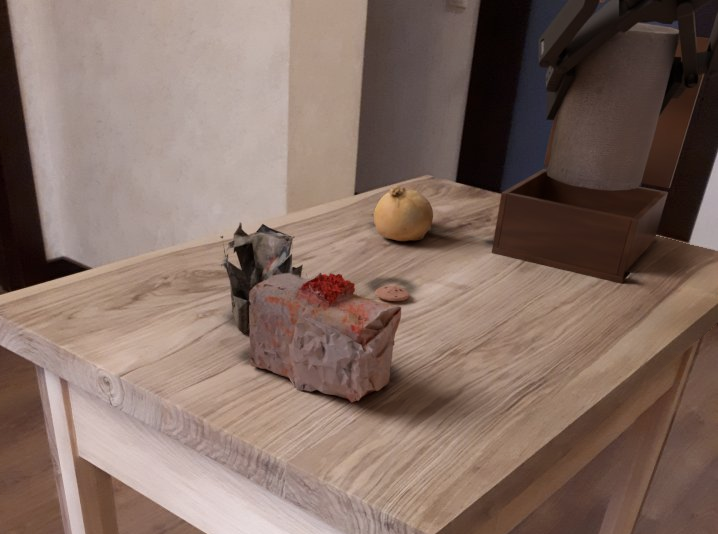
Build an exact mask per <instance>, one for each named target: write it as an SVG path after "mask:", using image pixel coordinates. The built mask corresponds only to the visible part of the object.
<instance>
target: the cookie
mask: <svg viewBox="0 0 718 534" xmlns="http://www.w3.org/2000/svg"><path fill="white" fill-rule="evenodd" d="M374 294H375V295H376V296H377V297H378V298H379V299H382V300H384V301H389V302H401V301H405V300H407V299H409V298H410V296H411V294H410V292H409V290H407V289H405V288H403V287H401V286H397V285H383V286H380V287H378V288H377V289H375V290H374Z"/></svg>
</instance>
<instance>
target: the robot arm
mask: <svg viewBox="0 0 718 534" xmlns="http://www.w3.org/2000/svg"><path fill="white" fill-rule="evenodd" d="M606 1H607V0H568V1H567V2H566V3H565V5H564V6H563V7H562V8H561V10H560V11H559V12H558V14H557V15H556V16H555V17H554V19H553V20H552V21H551V23H550V24H549V25H548V27H547V28H546V30H544V32H543V33H542V35H541V36H540V37H539V39H538V66H539V67H540V68H543V69H547V68H548V69H547V71H546V74H545V90H546V91H545V92H547V93H546V94H545V120H546V121H553V120H554V118H555V116H556V114H557V112H558V110H559V108H560V106H561V103H562V101H563V99H564V97H565V95H566V93H567V91H568V89H569V87H570V85H571V82H572V80H573V78H574V66H575V65H577V64H578V63H579V62H581V61H582V60H583V59H585V58H586V57H587V56H588V55H590V54H591V53H592V52H594V51H595V50H596V49H598V48H599V47H600V46H601V45H603V44H604V43H605V42H607V41H608V40H609V39H611V38H612V37H613V36H614V35H616V34H617V33H618V32H620V31H621V32H623V33H625V32H626V31H628V30H629V29H630V28H632V27H633V26H634V25H636V24H637V23H642V24H648V23H654V22H655V23H659V24H662V25H673V24H674V22H677V26H678V28H677V29H678V30H679V36H680V44H681V53H682V62H681V57H674V61H673V65H672V69H671V72H670V76H669V80H668V84H667V88H666V91H665V95H664V99H663V103H662V106H661V110H660V114H659V116H660V115H661V113H662V112H663V110H664V109H665V107H666V106H667V104H668V103H669V101H670V100H671V99H677V98H679V97H680V96H681V95H682V94H683V92H684V91H685V89H686V88H693V87H695V86H697V85H698V75H701V74H704V75H706V77H707V78H715V77H718V12H717V13H716V17H715V19H714V23H713V26H712V29H711V32H710V35H709V37H708V38H709V42H708V45H707V48H706V51H705V52H700V53H697V41H696V37H697V29H696V28H697V27H696V17H695V15H696V14H695V12H696V11H698V10H700V9H701V8H703V7H705V6H706V5H708V4H710V3H711V2H713V1H714V0H609V1H607V2H606ZM605 2H606V3H605ZM604 3H605V4H604ZM599 4H604V5H603V6H602V7H600V8H599V9H598V10H597V8H598V6H599ZM596 10H597V11H596Z"/></svg>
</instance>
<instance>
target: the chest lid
mask: <svg viewBox="0 0 718 534" xmlns="http://www.w3.org/2000/svg"><path fill="white" fill-rule="evenodd" d="M709 38H710V37H701V36H700V37H699V36H696V41H697V53H700V52H705V51H706V48H707V45H708V42H709ZM675 57H681V62H682V53H681V44H680V39H679V43H678V47H677V50H676V54H675ZM704 76H705V74H701V75H698V85H697V86H695V87H693V88H686V89H685V91H684V92H683V94H682V95H681V96H680V97H679V98H677V99H671V100H670V101H669V103H668V104H667V106H666V107H665V109H664V110H663V112H662V113H661V115H660V116H659V118H658V122H657V126H656V130H655V133H654V137H653V141H652V145H651V148H650V152H649V156H648V159H647V163H646V167H645V170H644V174H643V178H642V181H641V183H640V185H646V186H652V187H657V188H663V189H670V188H671V185H672V183H673V179H674V175H675V172H676V169H677V165H678V163H679V159H680V155H681V152H682V149H683V145H684V142H685V140H686V136H687V132H688V129H689V125H690V122H691V119H692V117H693V116H692V115H693V113H694V109H695V105H696V102H697V99H698V96H699V93H700V90H701V86H702V83H703V79H704ZM559 109H560V108H559ZM558 115H559V110H558V112H557V114H556V116H555V118H554V120H552V125H551V130H550V134H549V138H548V142H547V148H546V153H545V157H544V162H543V166H545V167H548V164H549V162H550V155H551V148H552V141H553V138H554V133H555V129H556V123H557V119H558Z"/></svg>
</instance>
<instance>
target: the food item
mask: <svg viewBox="0 0 718 534" xmlns="http://www.w3.org/2000/svg"><path fill="white" fill-rule="evenodd" d="M355 287H356V284H355V283H354V282H351V281H350V280H349V279H346V280H345V279H344V276H343V274H340V273H337V274H335V273H332V272H330V273H329V274H328V275H327V274H326V273H324V274H322V272H319V273H318V274H317V275H316V276H315V277H314V278H312V279H309V278H308V279H307V278H304V277H301V278H300V277H298V276H296V275H293V274H291V273H286V274H278V275H273V276H271V277H270V278H268V279H267V280H264V281H262V282H260V283H259V284H257V285H255V286H254V287H253V288H252V290H251V291H250V293H249V300H250V305H249V322H250V323H249V360H248V361H249V364H250V366H251V367H253V368H258V369H261V370H267V371H269V372H272V373H273V374H276V375H279V376H282V377H285V378H287V379H289V380H290V382H291V384H292V386H293V387H294V388H295V389H297V390H298V391H301V392H302V391H306V392H311V393H312V392H314V391H319V392H320V393H322V394H326V395H330V396H337V397H339V398H343V399H345V400H348V401H349V402H350V403H354V402H356V401H358V402H359V401H360V400H361V399H362V398H364V397H365V396H367V395H370V394H371V393H373V392H378V391H380V390H381V389H382V388H384V387H386V386H387V385H388V384H389V383H390V376H391V365H392V361H393V351H394V346H395V337H396V333H397V330H398V329H399V325H400V322H401V319H402V307H401V306H399V305H398V306H397V305H394V304H393V305H392V304H391V305H390V304H388V303H386V302H381V301H377V300H374V299H372V298H369V297H366V296H361V295H358V294H355V291H356V288H355Z"/></svg>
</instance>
